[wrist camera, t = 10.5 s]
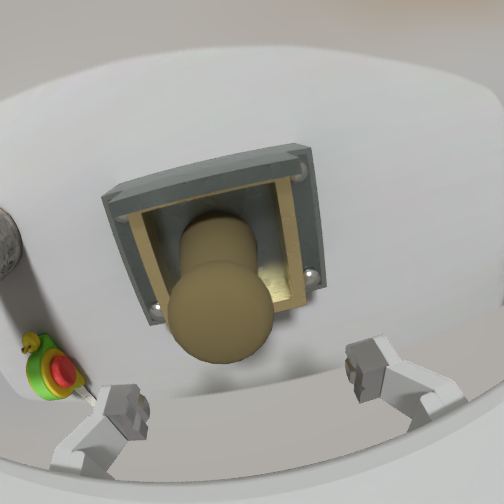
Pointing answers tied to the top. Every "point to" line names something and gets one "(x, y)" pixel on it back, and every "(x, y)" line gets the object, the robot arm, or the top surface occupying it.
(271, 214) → the grey wooden box
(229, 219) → the cork
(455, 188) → the top surface
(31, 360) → the toy measuring tape
